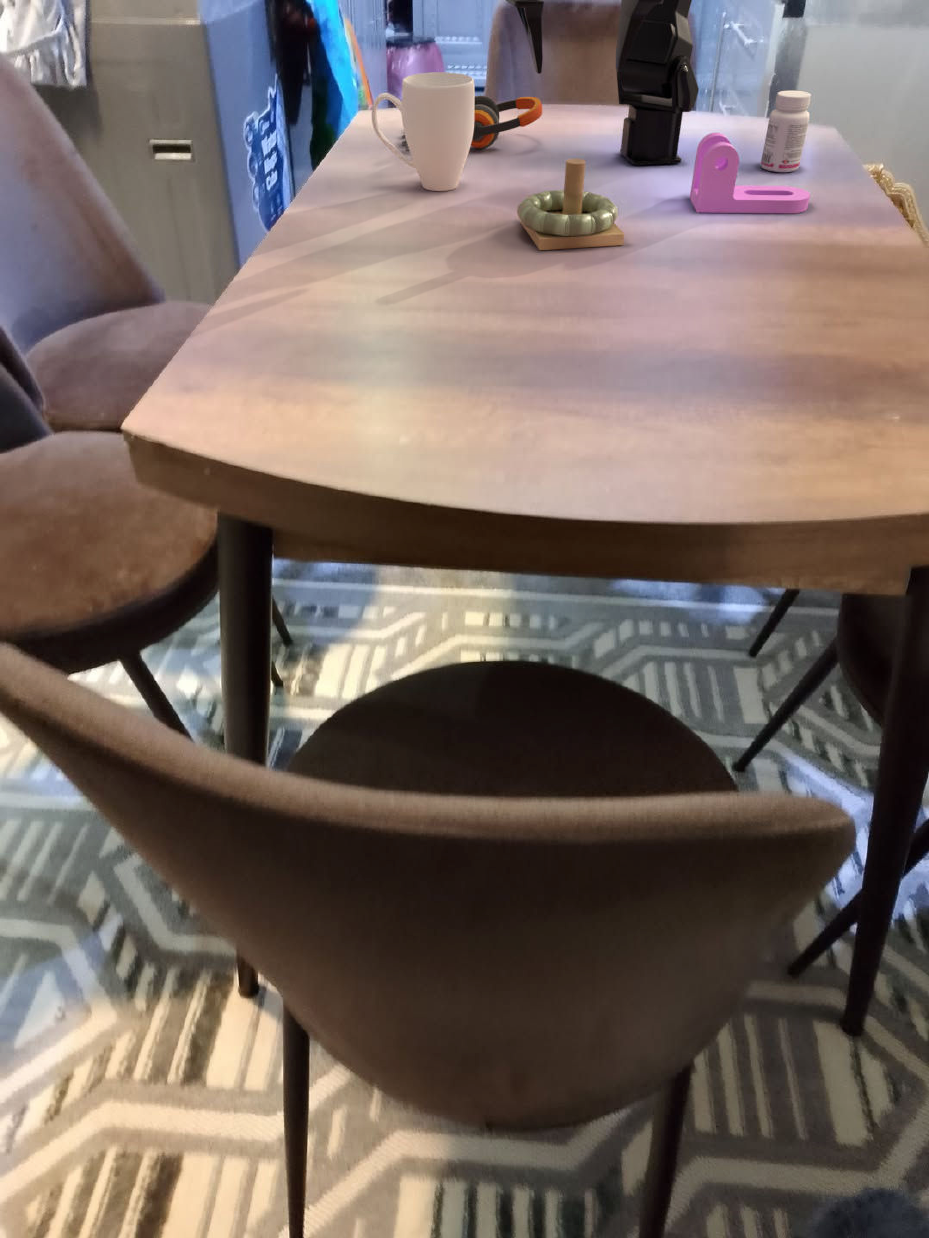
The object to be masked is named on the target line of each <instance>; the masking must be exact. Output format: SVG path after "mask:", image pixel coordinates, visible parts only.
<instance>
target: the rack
mask: <svg viewBox="0 0 929 1238" xmlns="http://www.w3.org/2000/svg"><path fill="white" fill-rule="evenodd" d="M585 174H586V160H585V159H582V158H569V159H566V160H565V170H564V185H563V190H564V198H563V210H557V211H547V213H554V214H563V215H577V214H589V213H587V212H582V200H583V191H584V188H585V187H584V185H585ZM520 223H521V225H522V227H523V228H524V230H525V231H526V232H527V235H528V236H529V237H530V238H531V241H533V243H534V244H535V245H536V248H537V249H538V250H539V251H550V250H563V249H564V250H566V249H581V248H598V247H615V246H623V245H624V241H625V240H624V239H625V233H624V232H623V230H621V228H620V227H619V226H618V225H617V224H616V223H615V222H614V223H613V224H612V226H611V227H610V228H609V229H607V230H604V231H601V232H598V233H594V234H591V235H580V236H559V235H551V234H544V233H541V232H538V231H535V230H532V229H530V228H527V227H526V226H524V224H523V223H522V221H521V220H520Z"/></svg>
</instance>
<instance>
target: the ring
mask: <svg viewBox="0 0 929 1238" xmlns="http://www.w3.org/2000/svg"><path fill="white" fill-rule="evenodd" d="M563 198H564V189H560V190H559V189H558V190H556V189H555V190H545V191H541V192H538V193H534V194H530V195H528V196H526V197H525V198H524V199H523V200H522V201H521V202H520V203H519V204H518V206H517V209H516V214H517V217H518V219H519V221H520V222H521V221H522V223H523V224H524V226H526V227H527V228H530V229H532V230H535V231H538V232H541V233H544V234H551V235H559V236H580V235H591V234H594V233H598V232H601V231H604V230H607V229H609V228H610V227H611V226H612V224H613V223H615V222H616V220H617V219H618V217H619V209H618V207H617V206H616V204H615V203H614V202H613V201H612V200H611V199H610V198H609V197H606V196H604V195H601V194H597V193H594V192H590V191H584V190H583V200H582V212H587V213H589V214H577V215H563V214H554V213H547V211H557V210H563Z"/></svg>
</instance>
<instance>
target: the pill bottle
mask: <svg viewBox="0 0 929 1238" xmlns="http://www.w3.org/2000/svg"><path fill="white" fill-rule="evenodd" d="M811 97H812V94H811V93H810V92H807V91H801V90H782V91H778V92H777V93H776V97H775V104H774V107H775V109H773V110H772V111H771V112H770V115H769V118H768V124H767V130H766V134H765V139H764V144H763V149H762V155H761V160H760V167H761V169H763V170H765V171H769V172H776V173H791V172H794V171H797V170H798V169H799V168H800V164H801V159H802V154H803V150H804V146H805V145H804V144H805V141H806V136H807V132H808V126H809V121H810V112H808V110H807V109H809V107H810V102H811Z"/></svg>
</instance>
